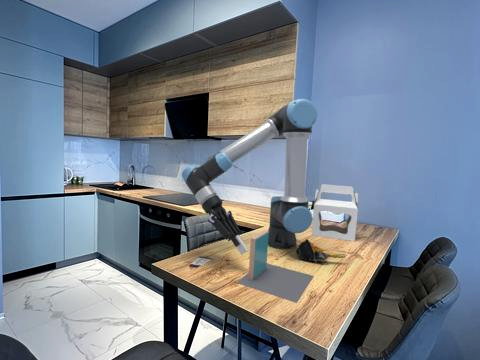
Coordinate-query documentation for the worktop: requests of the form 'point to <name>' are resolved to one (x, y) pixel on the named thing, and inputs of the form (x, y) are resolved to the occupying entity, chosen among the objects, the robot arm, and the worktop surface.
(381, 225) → the worktop surface
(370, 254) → the worktop surface
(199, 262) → the chocolate bar
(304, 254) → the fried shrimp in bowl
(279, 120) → the robot arm
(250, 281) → the mat
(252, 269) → the tile
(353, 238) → the gable box
